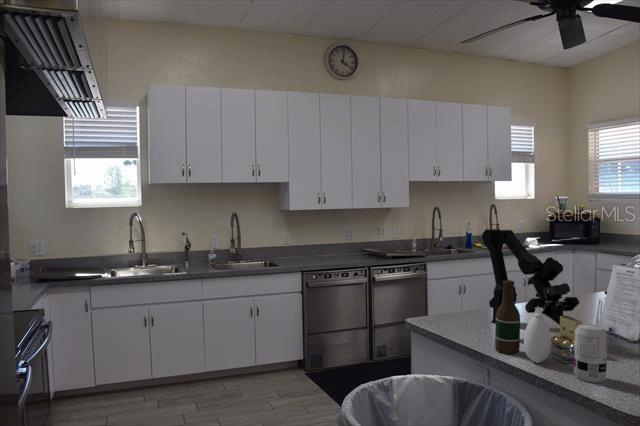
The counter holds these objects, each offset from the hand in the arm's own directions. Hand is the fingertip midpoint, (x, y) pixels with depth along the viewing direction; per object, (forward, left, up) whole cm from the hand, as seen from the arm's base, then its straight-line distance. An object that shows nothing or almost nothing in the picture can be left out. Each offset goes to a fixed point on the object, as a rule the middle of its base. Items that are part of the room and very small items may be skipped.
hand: (562, 325), depth 178 cm
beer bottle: (-13, -19, -8) cm, 24 cm away
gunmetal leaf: (+5, -12, -7) cm, 15 cm away
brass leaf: (+2, -4, -7) cm, 8 cm away
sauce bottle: (-2, -24, -8) cm, 25 cm away
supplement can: (+14, -29, -8) cm, 33 cm away
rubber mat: (0, -6, -7) cm, 10 cm away
